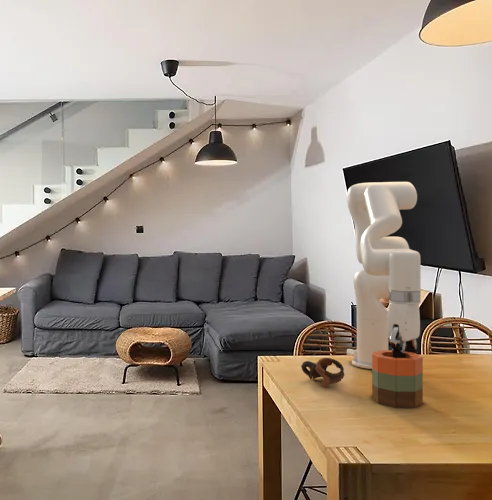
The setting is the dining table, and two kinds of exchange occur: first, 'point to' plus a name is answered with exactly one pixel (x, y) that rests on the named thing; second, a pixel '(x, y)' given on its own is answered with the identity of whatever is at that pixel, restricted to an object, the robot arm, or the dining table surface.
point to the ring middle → (397, 382)
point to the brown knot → (323, 371)
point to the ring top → (397, 363)
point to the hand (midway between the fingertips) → (404, 364)
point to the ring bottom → (397, 397)
